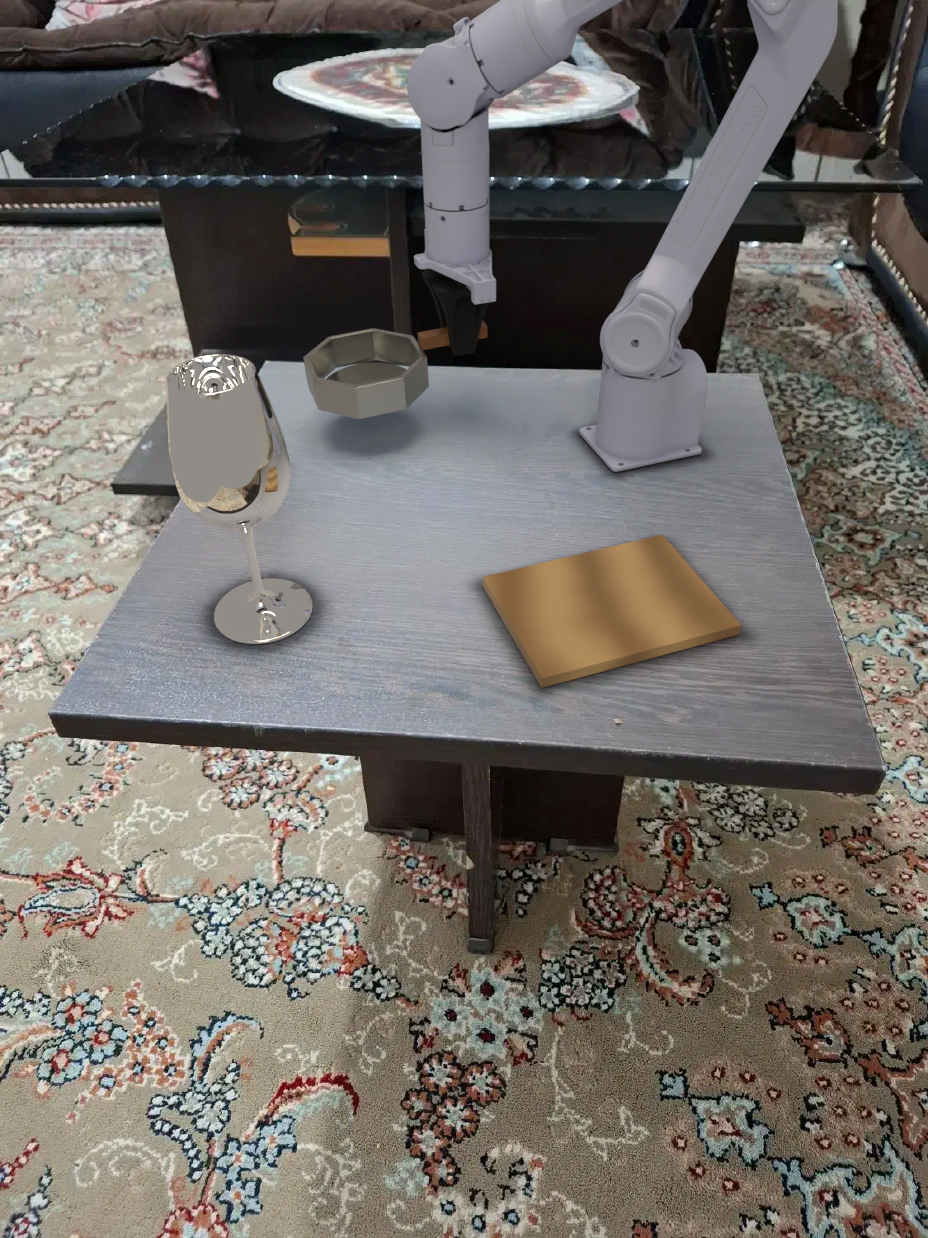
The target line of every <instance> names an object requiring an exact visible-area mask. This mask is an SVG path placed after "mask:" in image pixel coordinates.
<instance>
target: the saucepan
mask: <svg viewBox="0 0 928 1238" xmlns="http://www.w3.org/2000/svg"><path fill="white" fill-rule="evenodd" d="M487 338H488V325H487V324H486V322H485V321H484V320H483V321H482V324H481V328H480V333H479V337H478V340H482V339H487ZM447 345H450V342H449V336H448V330H447V327H444V328H441V327H439V328H435V329H429V330H424V331H419V332H417V339H416V338H415V337H414V335H411V334H406V333H400V332H395V331H390V330H384V329H380V328H374V327H372V328H367V329H362V330H357V331H352V332H346V333H340V334H335V335H331V336H327V337H326V338H325V339H323V341H321V342H320V343H319V344H318V345H316V347H314V348H313V349H311V350H310V351H309V352H308V353H307V354H305V355H304V356H303V357H302V359H303V365H304V371H305V376H306V381H307V387H308V389H309V391H310V394H311V396H312V398H313V401H314V403H315V405H316V408H317V410H319V411H323V412H327V413H331V414H336V415H339V416H344V417H349V418H353V419H357V420H363V419H368V418H371V417H372V418H373V417H376V416H382V415H386V414H391V413H395V412H401V411H404V410H405V411H406V410H408V409H409V407H410V406H411V405H413V404H414V402H415V401H416V400H417V399H418V398H419V397H420V396H421V395H422V394H423V393H424V392H425V391H426V390H427V389H428V388H429V387H430V381H429V368H428V367H429V365H428V356H427V355H426V353H425V352H424V351H426V350H433V349H436V348H442V347H448V346H447ZM374 361H375V362H374ZM376 361H377V362H376ZM378 361H379V362H378ZM405 367H408V368H405ZM338 368H340V369H338ZM336 369H338V370H336ZM335 370H336V371H335Z"/></svg>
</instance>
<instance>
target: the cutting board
mask: <svg viewBox="0 0 928 1238" xmlns="http://www.w3.org/2000/svg"><path fill="white" fill-rule="evenodd" d="M482 588H483V590H484V591H485V593H486V595H487V597H488V598H489V600H490V601H491V603H492V605H493V607H494V608H495V610H496V612H497V614H498V616H499V617H500V619H501V621H502V622H503V625H504V626H505V628H506V630H507V631H508V633H509V635H510V636H511V638H512V640H513V642H514V643H515V645H516V647H517V649H518V650H519V652H520V654H521V655H522V657H523V659H524V661H525V662H526V665H527V666H528V668H529V669H530V671H531V673H532V675H533V677H534V678H535V680H536V681H537V683H538V685H539V687H540V689H543V688H547V687H552V686H554V685H559V684H562V683H565V682H570V681H573V680H577V679H581V678H583V677H587V676H591V675H595V674H598V673H603V672H606V671H610V670H614V669H617V668H621V667H625V666H629V665H631V664H632V665H633V664H636V663H640V662H644V661H647V660H651V659H654V658H658V657H662V656H666V655H669V654H673V653H676V652H680V651H684V650H688V649H691V648H695V647H698V646H703V645H706V644H709V643H714V642H716V641H720V640H725V639H729V638H731V637H735V636H736V637H737V636H739V635H740V631H741V628H742V624H741V623H740V622H739V621H738V619H737V618H736V617H735V616H734V615H733V613H732V612H731V611H730V610H729V609H728V608H727V606H725V605H724V603H723V602H722V601H721V600H720V599H719V597H718V596H717V595H716V594H715V593H714V592H713V591H712V590H711V588H710V587H709V586H708V585H707V584H706V583H705V581H704V580H703V579H702V578H701V577H700V575H698V573H697V572H696V571H695V570H694V569H693V568H692V567H691V565H690V564H689V563H688V562H687V561H686V559H685V558H684V557H683V556H682V555H681V554H680V553H679V551H678V550H677V549H676V548H675V547H674V546H673V545H672V543H671V542H670V541H669V540H668V539H667V537H666V536H664V535H663V534H658V535H655V536H651V537H646V538H642V539H637V540H634V541H629V542H624V543H620V544H617V545H612V546H608V547H603V548H600V549H595V550H591V551H586V552H581V553H579V554H574V555H570V556H565V557H561V558H557V559H553V560H549V561H548V560H547V561H544V562H540V563H535V564H530V565H527V566H523V567H518V568H514V569H510V570H506V571H502V572H498V573H492V574H489V575H484V576H482Z"/></svg>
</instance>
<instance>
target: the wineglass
mask: <svg viewBox="0 0 928 1238" xmlns="http://www.w3.org/2000/svg"><path fill="white" fill-rule="evenodd" d="M166 425H167V439H168V440H167V443H168V445H167V446H168V454H169V455H168V456H169V461H170V468H171V473H172V478H173V482H174V484H175V487H176V490H177V492H178V495H179V498H180V499H181V500H182V502H183V503H184V504H185V506H186V508H188V510H189V511H190V512H191V513H192V514H194V515H195V516H196V517H197V518H199V519H200V520H202V521H203V522H205V523H206V524H209V525H211V526H213V527H217V528H221V529H225V530H228V531H229V530H230V531H238V533H239V535H240V538H241V540H242V544H243V547H244V551H245V554H246V560H247V563H248V568H249V572H250V577H251V580H250V581H247V582H245V583H242V584H239V585H238V586H236V587H234V588H232V589H231V590H229V591H228V592H227V593H225V594H224V595H223V596H222V597H221V599H220V600H219V601H218V602H217V604H216V606H215V609H214V611H213V612H214V613H213V622H214V624H215V627H216V629H217V630H218V632H220V634H222V635H223V636H224V637H226V638H227V639H229V640H231V641H234V642H236V643H240V644H247V645H262V644H269V643H273V642H277V641H281V640H283V639H285V638H287V637H289V636H292V634H294V633H296V632H298V631H299V630H300V629H301V628H302V627H303V626H305V624H306V623H308V622H307V621H308V620H309V619H310V617H311V614H312V612H313V606H314V605H313V599H312V597H311V595H310V593H309V592H308V591H307V589H306V588H305V587H304V586H302V585H300V584H299V583H296V582H294V581H291V580H288V579H284V578H276V577H275V578H273V577H271V578H270V577H269V578H268V577H267V578H262V576H261V575H262V574H261V570H260V565H259V562H258V556H257V552H256V547H255V541H254V527H257V526H259V525H261V524H263V523H264V522H266V521H267V520H269V519H270V518H271V517H272V516H273V515H275V514H276V512H278V511H279V510H280V508H281V506H282V504H283V502H284V501H285V499H286V497H287V496H288V493H289V490H290V489H289V488H290V484H291V480H292V470H291V462H290V461H291V459H290V455H289V450H288V447H287V444H286V439H285V437H284V434H283V431H282V427H281V426H280V423H279V420H278V417H277V414H276V412H275V409H274V407H273V405H272V402H271V401H270V397H269V395H268V393H267V391H266V389H265V387H264V383H263V382H262V380H261V377H260V375H259V372H258V370H257V368H256V366H255V364H254V363H253V362H252V361H250V360H249V359H247V358H245V357H243V356H240V355H234V354H228V353H227V354H226V353H221V354H220V353H219V354H218V353H216V354H215V353H214V354H207V355H201V356H197V357H193V358H190V359H188V360H184V361H183V362H181V363H179V364H177V365H176V366H174V367H173V368H172V369H171V370H170V371H169V372H168V374H167V376H166Z"/></svg>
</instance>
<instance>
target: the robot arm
mask: <svg viewBox="0 0 928 1238" xmlns="http://www.w3.org/2000/svg"><path fill="white" fill-rule="evenodd" d="M623 1H624V0H498V1H497V2H495V4H492V5H491V6H490V7H488V8H487V9H486V10H484V11H483V12H481V13H480V14H478V15H477V16H476V17H474V18H473V19H472V20H471V19H470V18H469V17H468V16H465V17H463V18H461V19H459V20H458V21H457V22H455V23H454V24H453V30H454V36H451V37H449V38H447V39H445V40H443V41H441V42H434V43H431V44H428V45H426V46H425V47H424V49H423V50H422V52H420V53H419V55H418V56H416V58H415V59H414V60H413V62H412V64H411V65H410V68H409V71H408V74H407V80H406V89H407V97H408V101H409V103H410V106H411V108H412V110H413V111H414V113H415V115H416V116H417V117H418V118H419V121H420V143H421V145H420V148H421V149H420V150H421V165H422V167H421V169H422V188H423V189H422V190H423V209H424V222H425V223H424V227H425V228H424V230H423V231H424V252H422V253H417V254H415V255H413V260H414V261H413V264H414V265H415V266H416V268H418V269H419V270H423V271H422V272H421V276H422V278H423V280H424V282H425V284H426V286H427V287H428V289H429V292H430V294H431V296H432V299H433V301H434V304H435V308H436V312H437V315H438V319H439V323H440V326H441V327H440V328H444V327H447V330H448V336H449V342H450V345H447V346H446V347H447V348H448V349H451V352H452V354H453V355H454V357H460V356H464V355H471V354H474V353H476V350H477V345H478V341H479V339H478V337H479V333H480V328H481V324H482V321H484V317H485V314H486V312H487V310H488V308H489V306H490V303H493V302H496V301H497V290H498V288H497V287H498V285H497V279H496V278H495V276H494V274H493V253H492V249H491V248H490V139H489V137H490V136H489V134H490V133H489V131H490V130H489V129H490V127H489V123H490V120H489V119H490V118H489V116H490V115H489V111H490V110H489V109H490V107H491V106H492V105H493V103H494V101H495V99H496V100H497V99H498V100H500V99H503V98H504V97H506V96H507V95H509V94H512V92H515V91H516V90H518V89H519V88H521V87H523V86H524V85H525V84H527V83H529V82H531V81H532V80H534V79H535V78H537V77H538V76H540V75H542V74H544V73H545V72H547V71H548V70H550V69H551V68H553V67H555V66H556V65H558V64H560V63H562V62H563V61H564V60H566V59H568V58H569V57H570V56H571V55H572V52H573V49H574V46H575V42H576V38H577V35H578V33H579V29H580V28H581V26H583V25H584V24H586V23H588V22H589V21H591V20H593V19H595V18H596V17H597V16H599V15H601V14H602V13H603V14H604V13H605V12H607V11H608V10H609V9H612V8H613V7H615V6H616V5H618V4H619V3H621V2H623ZM746 1H747V3H746V4H747V8H748V11H749V16H750V18H751V23H752V25H753V29H754V33H755V36H756V39H757V43H758V47H757V51H756V54H755V56H754V57H753V59H752V61H751V64H750V65H749V67H748V69H747V71H746V73H745V75H744V77H743V79H742V81H741V83H740V85H739V87H738V89H737V91H736V93H735V94H734V96H733V98H732V100H731V102H730V104H729V107H728V108H727V110H726V112H725V114H724V116H723V118H722V119H721V122H720V123H719V126H718V128H717V129H716V132H715V134H714V135H713V137H712V139H711V141H710V143H709V145H708V146H707V149H706V150H705V153H704V155H703V156H702V158H701V161H700V162H699V164H698V166H697V168H696V170H695V172H694V174H693V176H692V178H691V180H690V182H689V184H688V186H687V188H686V190H685V192H684V194H683V195H682V197H681V200H680V201H679V203H678V205H677V207H676V208H675V211H674V212H673V215H672V216H671V219H670V221H669V223H668V224H667V226H666V228H665V231H664V233H663V234H662V236H661V238H660V241H659V242H658V243H657V246H656V248H655V250H654V251H653V254H652V256H651V257H650V258H649V259H650V260H649V261H648V263H647V265H646V267H645V268H644V269H643V270H642V271H640V272H639V273H638V274H636V275H635V276H633V278H631V279H630V280H629V282H628V284H627V285H626V287H625V290H624V291H623V295H622V297H621V298H620V300H619V301H618V303H617V304H616V306H615V308H614V309H613V311H612V312H611V313H609V315H608V316H607V317H606V319H605V320H604V323H603V324H602V326H601V330H600V334H599V345H600V349H601V353H602V362H601V373H600V383H599V393H598V403H597V415H596V416H597V417H596V424H593V425H588V426H583V427H580V428H579V429H578V435H580V436H581V437H582V438H583V440H584V441H585V442H586V443H587V444H588V445H589V447H590V448H591V449H592V450H593V451H594V452H595V453H596V455H597V456H598V457H599V458H600V459H601V460H602V461H603V462H604V464H605V465H606V466H607V467H608V468H609V469H610V470H611V471H612V472H617V473H618V472H622V471H626V470H631V469H637V468H641V467H645V466H651V465H656V464H659V463H660V464H661V463H665V462H669V461H675V460H678V459H683V458H687V457H692V456H693V457H694V456H697V455H701V454H702V452H703V448H702V447H701V446H700V444H699V441H700V435H701V431H702V424H703V419H704V414H705V408H706V403H707V397H708V388H709V383H708V382H709V381H708V373H707V369H706V366H705V363H704V361H703V359H702V358H701V356H700V355H699V354H698V353H697V352H696V351H695V350H693V349H689V348H683V347H682V345H681V343H680V339H679V338H678V337H679V336H680V334H681V331H682V329H683V327H684V325H686V323H687V321H688V320H689V318H690V316H691V314H692V309H693V295H694V293H695V290H696V289H697V287H698V284H699V282H700V281H701V279H702V277H703V275H704V274H705V272H706V270H707V268H708V267H709V265H710V263H711V262H712V260H713V258H714V256H715V254H716V253H717V251H718V249H719V247H720V246H721V244H722V242H723V240H724V238H725V237H726V235H727V233H728V232H729V230H730V228H731V226H732V224H733V223H734V221H735V219H736V217H737V216H738V213H739V212H740V210H741V209H742V207H743V205H744V203H745V202H746V200H747V198H748V197H749V194H750V192H752V189H753V187H754V186H755V184H756V183H757V180H758V179H759V177H760V175H761V173H762V171H763V170H764V168H765V167H766V164H767V163H768V162H769V159H770V158H771V156H772V154H773V152H774V150H775V148H776V147H777V145H778V143H779V142H780V140H781V138H782V136H783V135H784V133H785V131H786V130H787V128H788V126H789V124H790V122H791V120H792V119H793V117H794V115H795V113H796V112H797V110H798V108H799V106H800V105H801V102H802V101H803V100H804V98H805V96H806V94H807V92H808V91H809V89H810V87H811V86H812V84H813V82H814V80H815V78H816V77H817V75H818V73H819V71H820V70H821V69H822V66H823V64H824V63H825V62H826V60H827V57H828V56H829V53H830V52H831V49H832V46H833V44H834V42H835V39H836V36H837V32H838V14H839V13H838V10H839V7H838V4H839V0H746Z"/></svg>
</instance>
